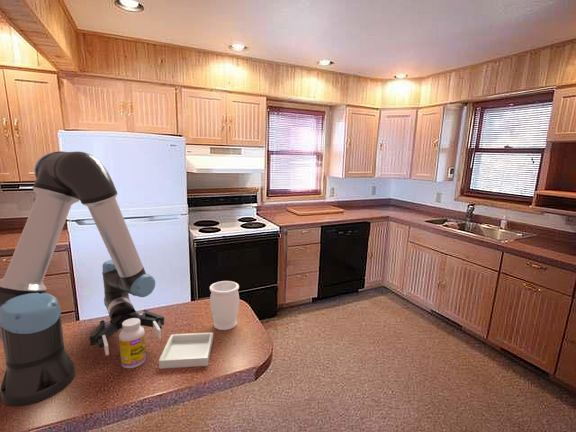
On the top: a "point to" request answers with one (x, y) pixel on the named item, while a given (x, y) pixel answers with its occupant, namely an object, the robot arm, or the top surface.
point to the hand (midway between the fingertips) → (134, 342)
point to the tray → (187, 350)
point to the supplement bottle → (132, 343)
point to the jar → (224, 304)
